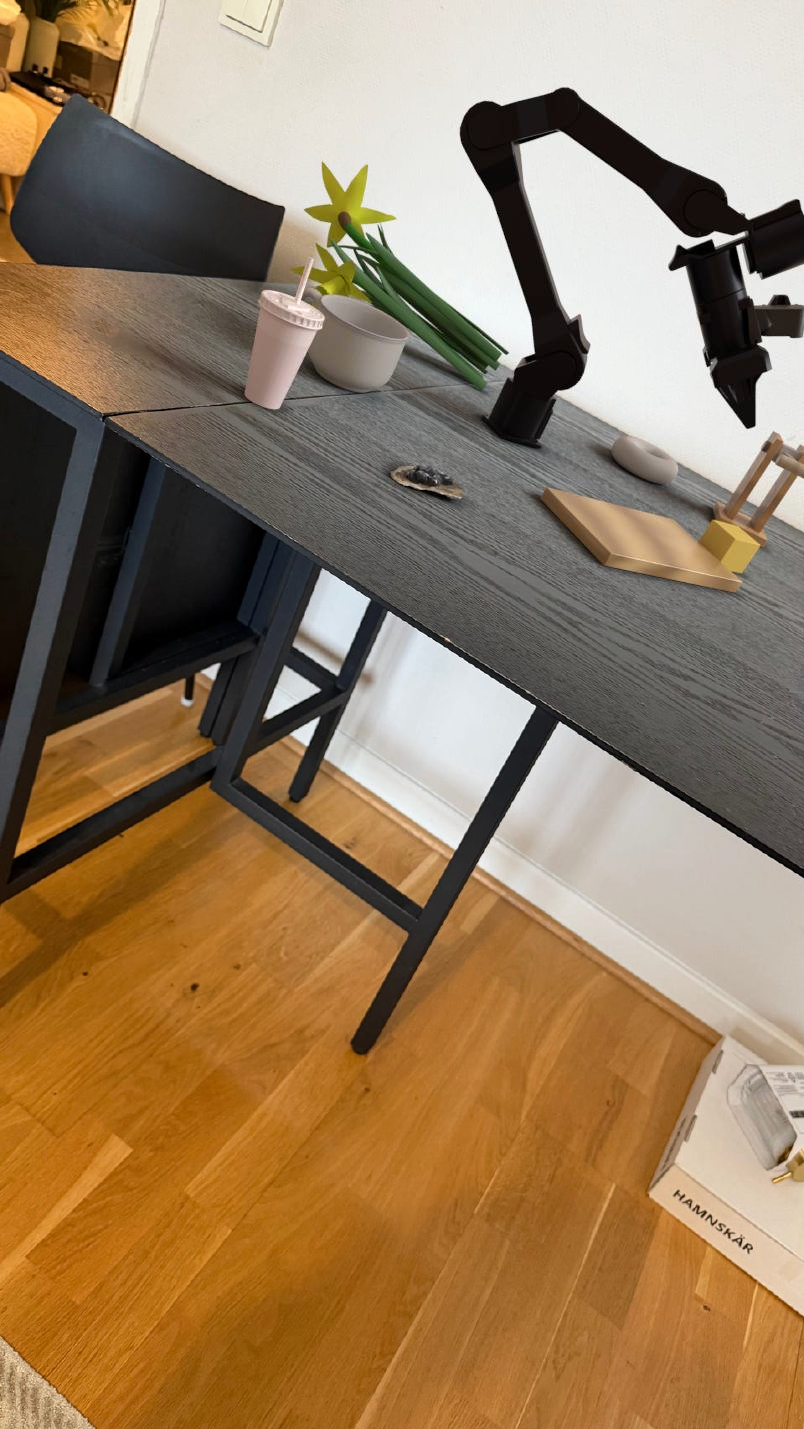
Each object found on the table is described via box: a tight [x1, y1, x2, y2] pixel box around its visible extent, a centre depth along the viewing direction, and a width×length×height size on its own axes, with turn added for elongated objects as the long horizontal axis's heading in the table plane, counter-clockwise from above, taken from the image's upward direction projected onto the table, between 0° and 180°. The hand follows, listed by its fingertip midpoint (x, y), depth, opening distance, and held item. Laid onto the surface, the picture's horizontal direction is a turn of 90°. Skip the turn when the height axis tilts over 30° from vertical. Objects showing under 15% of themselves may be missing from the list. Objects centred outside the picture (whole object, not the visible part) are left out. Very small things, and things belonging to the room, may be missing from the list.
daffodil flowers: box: [289, 161, 510, 392], centre depth 132 cm, size 17×15×35 cm
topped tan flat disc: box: [390, 464, 466, 501], centre depth 93 cm, size 7×8×2 cm
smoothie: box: [244, 256, 325, 410], centre depth 91 cm, size 6×6×14 cm
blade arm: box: [771, 442, 804, 479], centre depth 122 cm, size 11×5×2 cm, turn 167°
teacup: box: [301, 287, 410, 394], centre depth 110 cm, size 14×11×8 cm
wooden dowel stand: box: [712, 430, 804, 549], centre depth 128 cm, size 8×7×13 cm
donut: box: [611, 435, 679, 485], centre depth 134 cm, size 10×4×10 cm
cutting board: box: [540, 486, 743, 594], centre depth 106 cm, size 20×14×2 cm
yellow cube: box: [698, 519, 761, 574], centre depth 113 cm, size 4×4×4 cm
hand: (750, 426), depth 116 cm, fingers closed
